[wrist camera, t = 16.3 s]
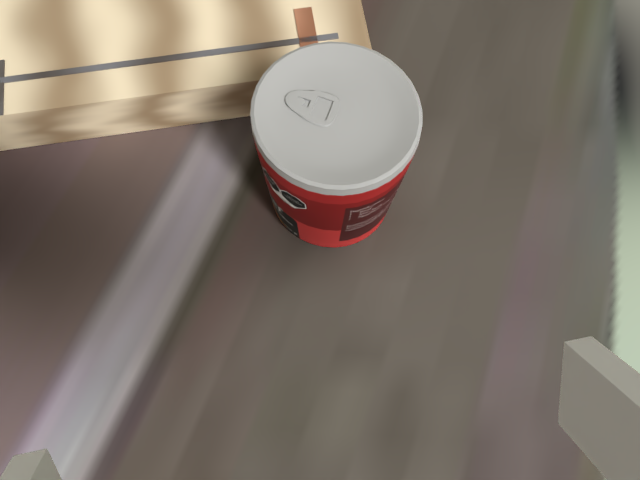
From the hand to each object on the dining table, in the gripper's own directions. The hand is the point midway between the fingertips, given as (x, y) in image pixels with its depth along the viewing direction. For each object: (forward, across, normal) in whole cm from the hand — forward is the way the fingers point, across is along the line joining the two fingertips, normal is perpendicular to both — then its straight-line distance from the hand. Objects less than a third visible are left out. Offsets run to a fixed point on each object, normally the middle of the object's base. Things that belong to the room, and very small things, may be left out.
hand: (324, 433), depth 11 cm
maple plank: (+31, -6, +14) cm, 35 cm away
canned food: (+21, +4, 0) cm, 21 cm away
